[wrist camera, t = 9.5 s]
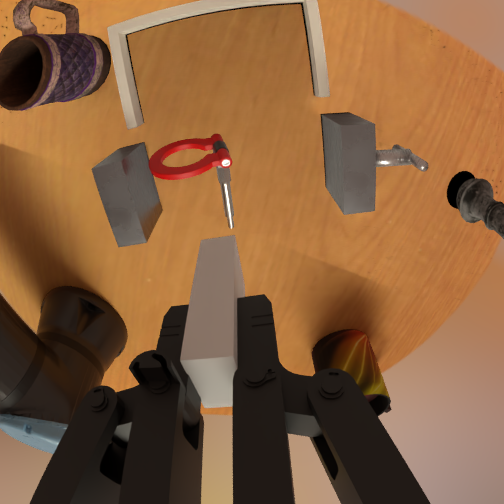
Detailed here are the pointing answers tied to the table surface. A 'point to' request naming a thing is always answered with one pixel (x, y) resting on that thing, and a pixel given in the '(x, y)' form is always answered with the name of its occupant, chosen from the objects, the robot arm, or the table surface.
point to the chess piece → (476, 201)
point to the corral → (209, 4)
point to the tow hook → (198, 166)
